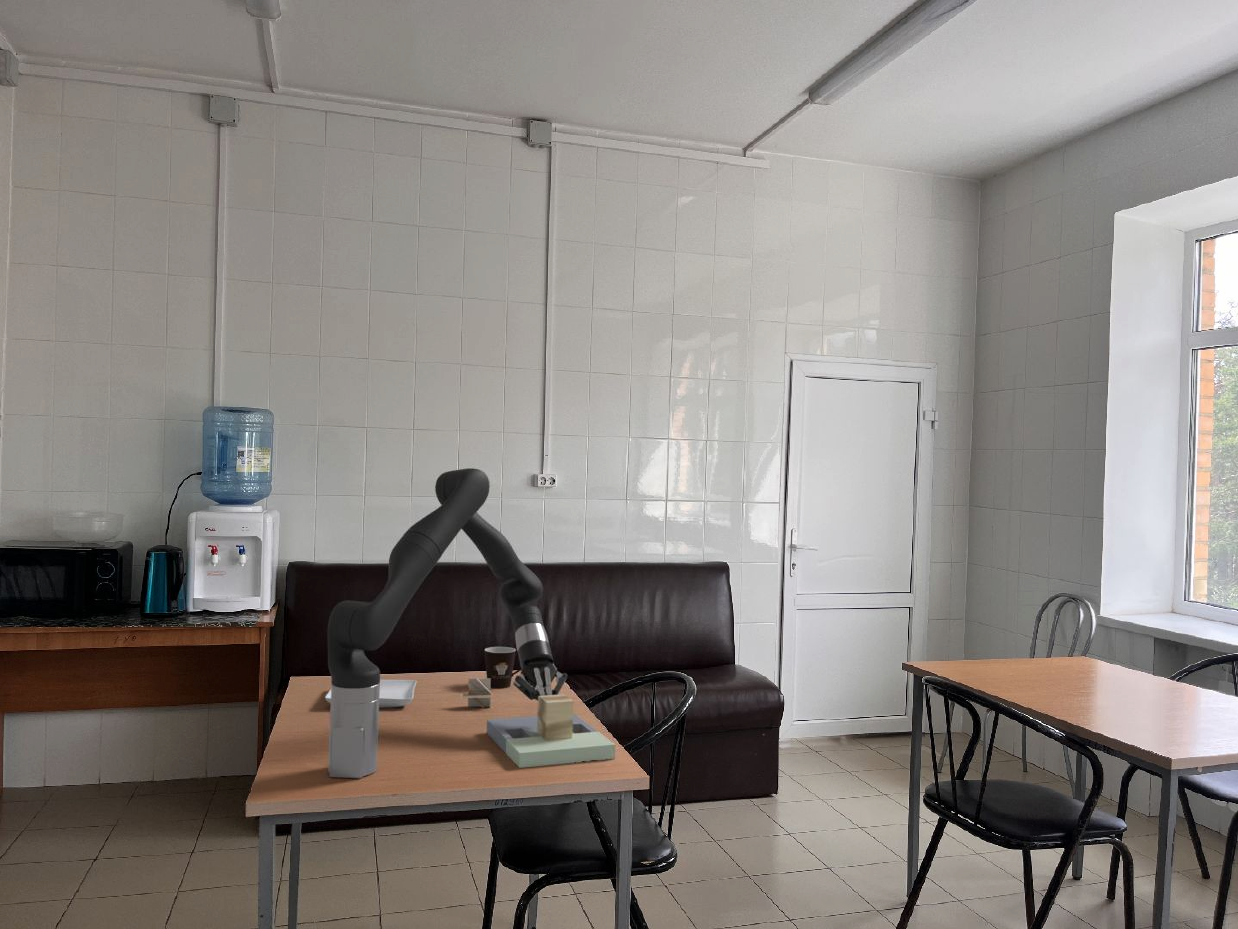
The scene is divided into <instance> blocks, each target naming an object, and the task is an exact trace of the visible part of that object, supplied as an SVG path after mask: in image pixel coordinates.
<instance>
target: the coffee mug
mask: <svg viewBox="0 0 1238 929" xmlns="http://www.w3.org/2000/svg"><path fill="white" fill-rule="evenodd" d="M516 651H517V648H514V647H509V646H508V647H507V646H491V647H486V648H485V649H484V660H485V672H486V674H485V675H486V678H491V681H490V689H499V690H500V689H507V688H511V684H512V679H513V676H514V675H516V674H518V673H519V672H521V670H522V669H521V667H520V668H519V669H517V670H515V671H514V665H515V662H516V660H517V659H518V658H519V655H518V654H516ZM513 671H514V672H513Z"/></svg>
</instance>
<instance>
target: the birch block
mask: <svg viewBox="0 0 1238 929" xmlns="http://www.w3.org/2000/svg"><path fill="white" fill-rule="evenodd" d="M573 713H574V700H573V699H572V698H570V697H569V696H568V695H566V694H562V693H561V694H558V695H546V696H538V701H537V716H538V718H537V733H538V734H539V735H540V736H541V737H542V738H544V739H545V740H556V739H567V738H572V730H573Z"/></svg>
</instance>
